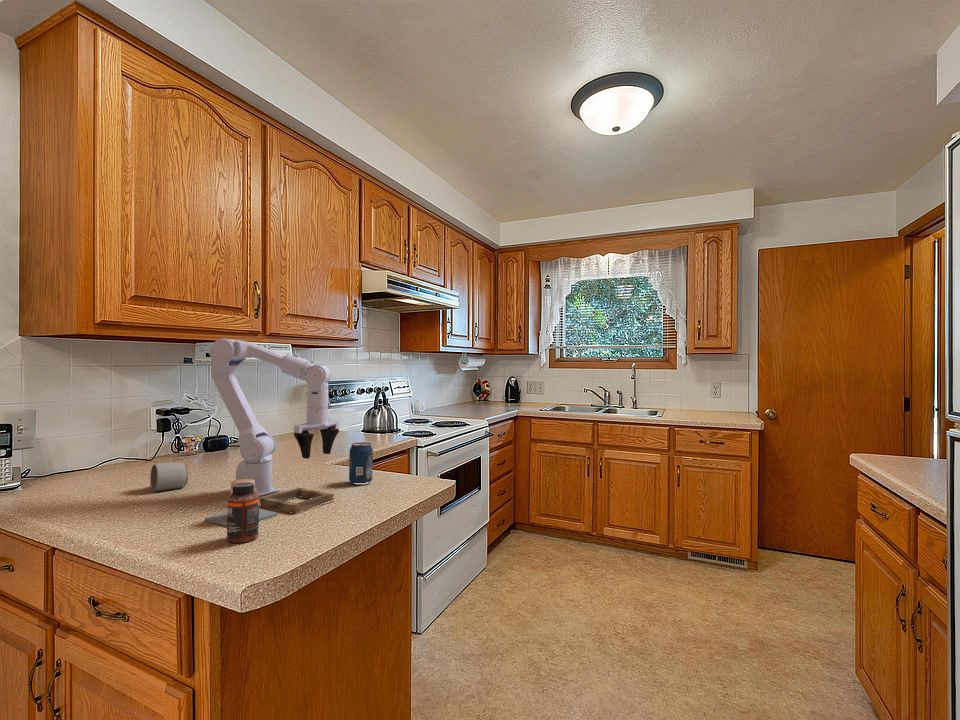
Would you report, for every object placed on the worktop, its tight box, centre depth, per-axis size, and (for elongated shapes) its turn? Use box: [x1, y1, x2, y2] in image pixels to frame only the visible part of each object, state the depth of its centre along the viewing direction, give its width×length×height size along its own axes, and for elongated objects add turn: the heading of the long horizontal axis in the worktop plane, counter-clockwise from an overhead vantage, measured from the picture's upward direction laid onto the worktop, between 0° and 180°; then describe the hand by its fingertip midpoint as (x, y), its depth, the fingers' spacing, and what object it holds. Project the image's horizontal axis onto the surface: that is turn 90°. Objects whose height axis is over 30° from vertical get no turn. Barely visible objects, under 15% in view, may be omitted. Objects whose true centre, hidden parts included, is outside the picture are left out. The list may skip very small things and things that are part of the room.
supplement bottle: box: [226, 482, 260, 544], centre depth 99 cm, size 6×6×11 cm
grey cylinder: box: [149, 462, 189, 493], centre depth 138 cm, size 11×8×8 cm
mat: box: [204, 508, 279, 528], centre depth 113 cm, size 11×11×1 cm
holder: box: [259, 487, 334, 514], centre depth 124 cm, size 12×12×2 cm
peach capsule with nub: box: [230, 479, 257, 495], centre depth 112 cm, size 6×5×8 cm
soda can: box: [348, 441, 374, 483], centre depth 147 cm, size 7×7×12 cm
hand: (316, 455), depth 135 cm, fingers open, 7 cm apart
